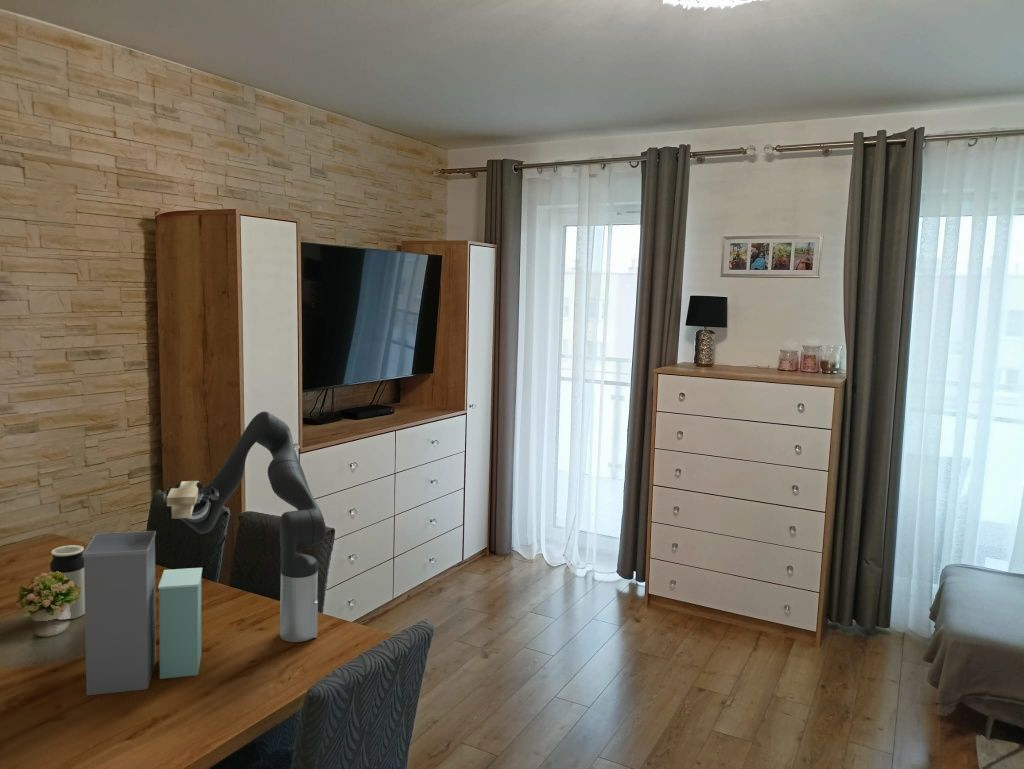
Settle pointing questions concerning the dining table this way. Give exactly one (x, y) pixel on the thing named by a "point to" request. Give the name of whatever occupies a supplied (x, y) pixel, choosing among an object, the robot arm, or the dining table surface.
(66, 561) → the travel mug
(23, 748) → the dining table surface
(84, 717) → the dining table surface
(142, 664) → the stand
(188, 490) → the beige stepped bar
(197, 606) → the tall pale green pillar
